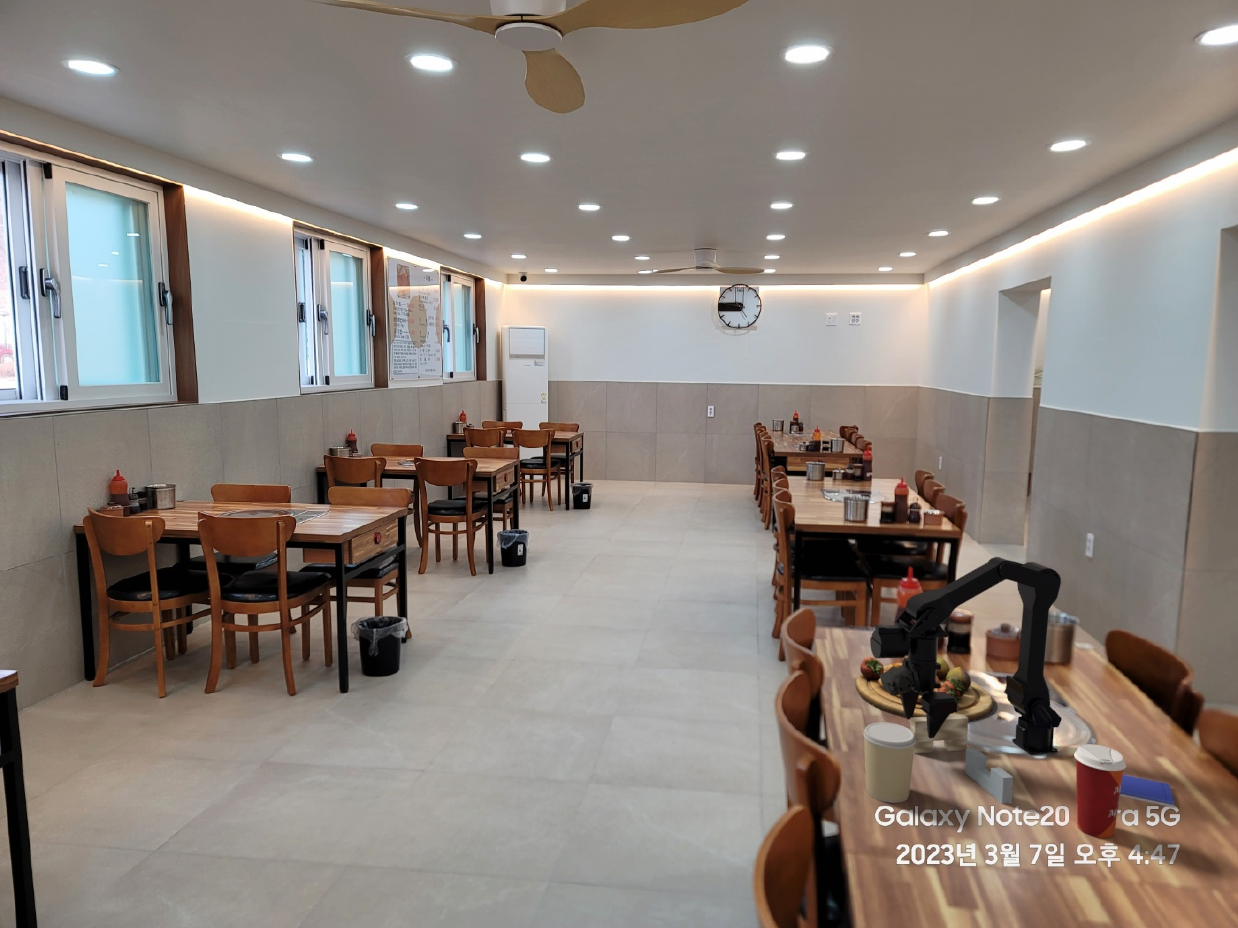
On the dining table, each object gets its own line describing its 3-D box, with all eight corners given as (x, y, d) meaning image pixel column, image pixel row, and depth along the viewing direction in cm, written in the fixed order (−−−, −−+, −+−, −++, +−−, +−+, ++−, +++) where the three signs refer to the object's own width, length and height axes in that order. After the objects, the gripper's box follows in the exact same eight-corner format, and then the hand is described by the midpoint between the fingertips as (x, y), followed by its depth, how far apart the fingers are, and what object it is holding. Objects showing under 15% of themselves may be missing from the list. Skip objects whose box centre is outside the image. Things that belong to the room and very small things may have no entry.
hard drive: (1095, 785, 151) (1174, 802, 145) (1094, 767, 158) (1169, 782, 152) (1095, 793, 151) (1173, 810, 145) (1093, 774, 158) (1168, 790, 152)
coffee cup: (922, 792, 151) (924, 731, 150) (899, 810, 144) (901, 747, 143) (876, 774, 157) (878, 717, 156) (852, 791, 151) (854, 731, 150)
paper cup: (1129, 844, 134) (1134, 765, 132) (1079, 839, 135) (1084, 760, 134) (1110, 819, 141) (1115, 744, 140) (1063, 814, 143) (1067, 740, 141)
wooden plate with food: (830, 694, 199) (831, 663, 198) (894, 663, 220) (895, 634, 219) (955, 739, 175) (957, 704, 174) (1013, 699, 196) (1016, 667, 195)
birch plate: (961, 745, 170) (963, 714, 169) (966, 749, 168) (968, 718, 167) (909, 749, 168) (910, 717, 168) (914, 753, 166) (915, 721, 166)
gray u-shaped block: (974, 771, 159) (975, 747, 158) (1011, 802, 147) (1013, 777, 146) (964, 772, 158) (965, 748, 158) (1001, 803, 147) (1003, 777, 146)
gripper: (865, 643, 174) (863, 712, 175) (908, 674, 155) (905, 751, 157) (913, 641, 175) (911, 709, 177) (961, 671, 157) (958, 747, 158)
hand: (919, 728), depth 167 cm, fingers open, 9 cm apart
